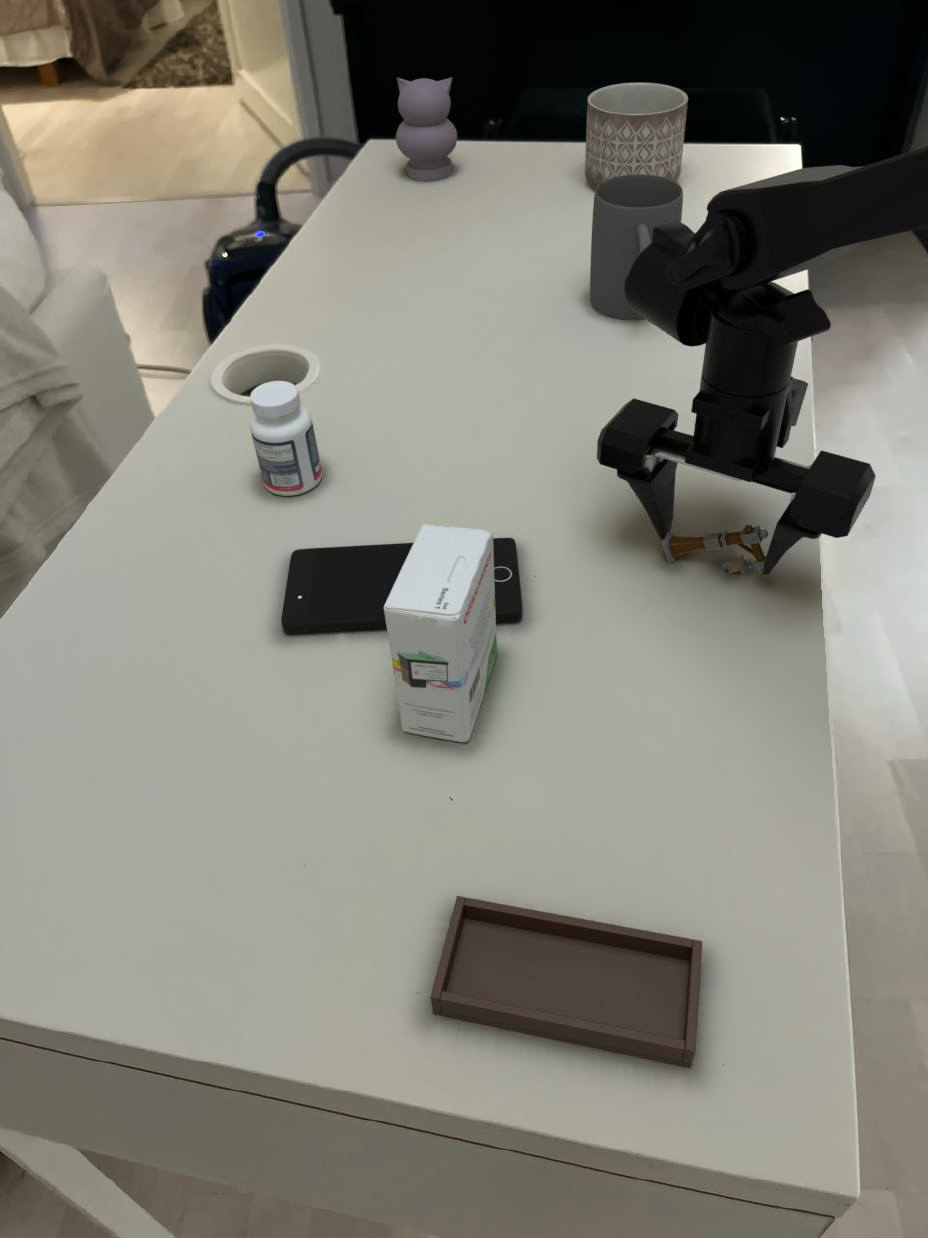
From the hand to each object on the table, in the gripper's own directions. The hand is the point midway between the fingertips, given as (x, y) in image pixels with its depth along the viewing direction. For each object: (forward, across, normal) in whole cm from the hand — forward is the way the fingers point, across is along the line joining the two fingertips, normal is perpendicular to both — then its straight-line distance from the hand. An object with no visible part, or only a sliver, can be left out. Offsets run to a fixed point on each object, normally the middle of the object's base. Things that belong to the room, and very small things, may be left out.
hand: (715, 553), depth 76 cm
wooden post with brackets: (+1, 0, 0) cm, 1 cm away
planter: (+1, +40, -68) cm, 78 cm away
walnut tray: (+1, -6, +36) cm, 37 cm away
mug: (+1, +24, -34) cm, 42 cm away
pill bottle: (+1, +36, +8) cm, 37 cm away
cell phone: (+1, +20, +14) cm, 24 cm away
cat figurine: (+1, +67, -58) cm, 89 cm away
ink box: (+1, +10, +22) cm, 24 cm away
